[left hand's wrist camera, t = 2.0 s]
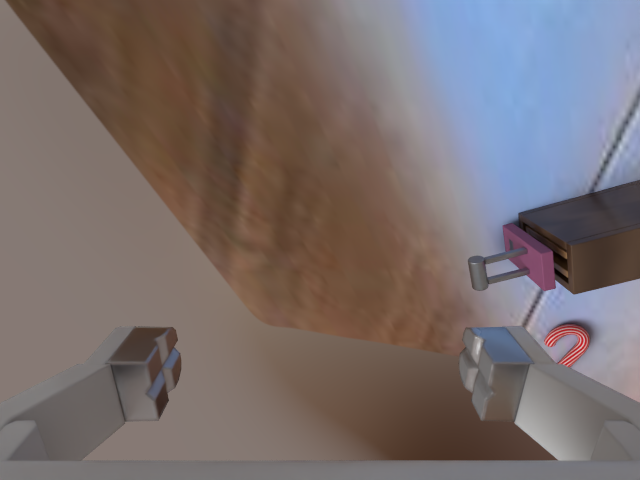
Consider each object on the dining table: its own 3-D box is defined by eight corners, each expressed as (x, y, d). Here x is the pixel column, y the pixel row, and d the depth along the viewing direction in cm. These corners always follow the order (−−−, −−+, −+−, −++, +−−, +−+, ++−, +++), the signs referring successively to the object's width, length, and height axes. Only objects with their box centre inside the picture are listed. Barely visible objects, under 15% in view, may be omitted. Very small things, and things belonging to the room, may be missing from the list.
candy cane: (493, 389, 56) (498, 397, 54) (561, 315, 51) (567, 321, 49) (525, 403, 57) (530, 411, 55) (594, 332, 52) (602, 339, 50)
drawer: (456, 270, 47) (484, 306, 39) (451, 239, 46) (478, 270, 38) (634, 223, 45) (702, 252, 37) (635, 189, 43) (706, 211, 35)
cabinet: (522, 253, 47) (573, 294, 38) (517, 213, 45) (571, 245, 36) (659, 217, 45) (750, 252, 36) (660, 174, 43) (757, 197, 34)
